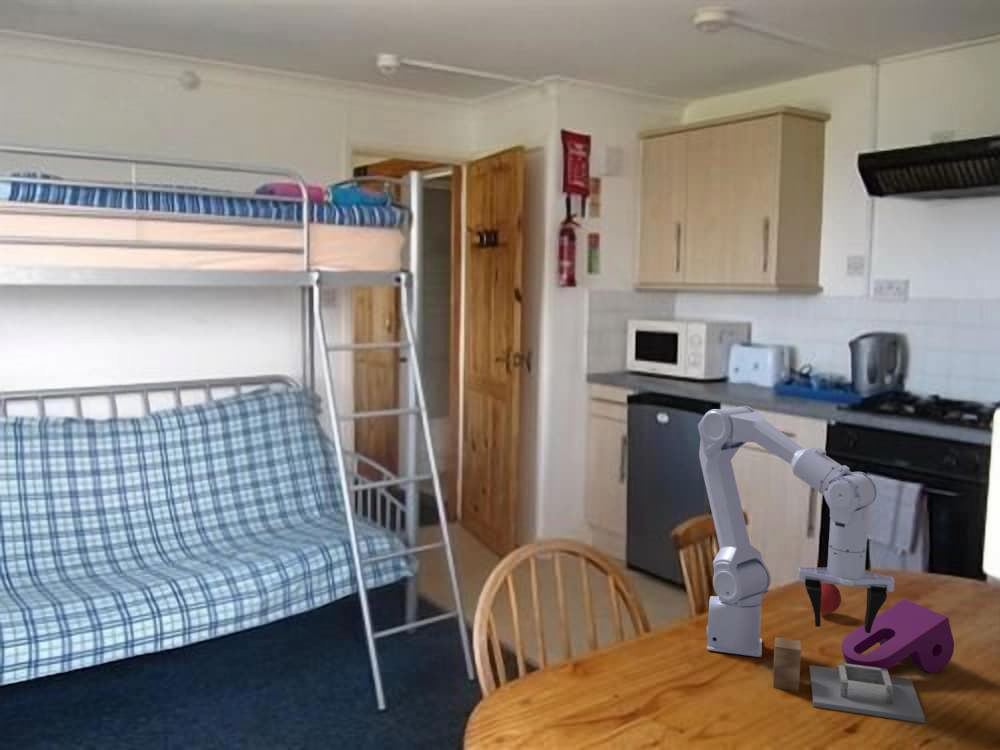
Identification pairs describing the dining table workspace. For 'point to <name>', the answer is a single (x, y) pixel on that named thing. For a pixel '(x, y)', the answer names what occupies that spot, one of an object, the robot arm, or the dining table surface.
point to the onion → (829, 598)
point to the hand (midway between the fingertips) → (842, 627)
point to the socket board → (865, 692)
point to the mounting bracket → (902, 639)
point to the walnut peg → (786, 664)
